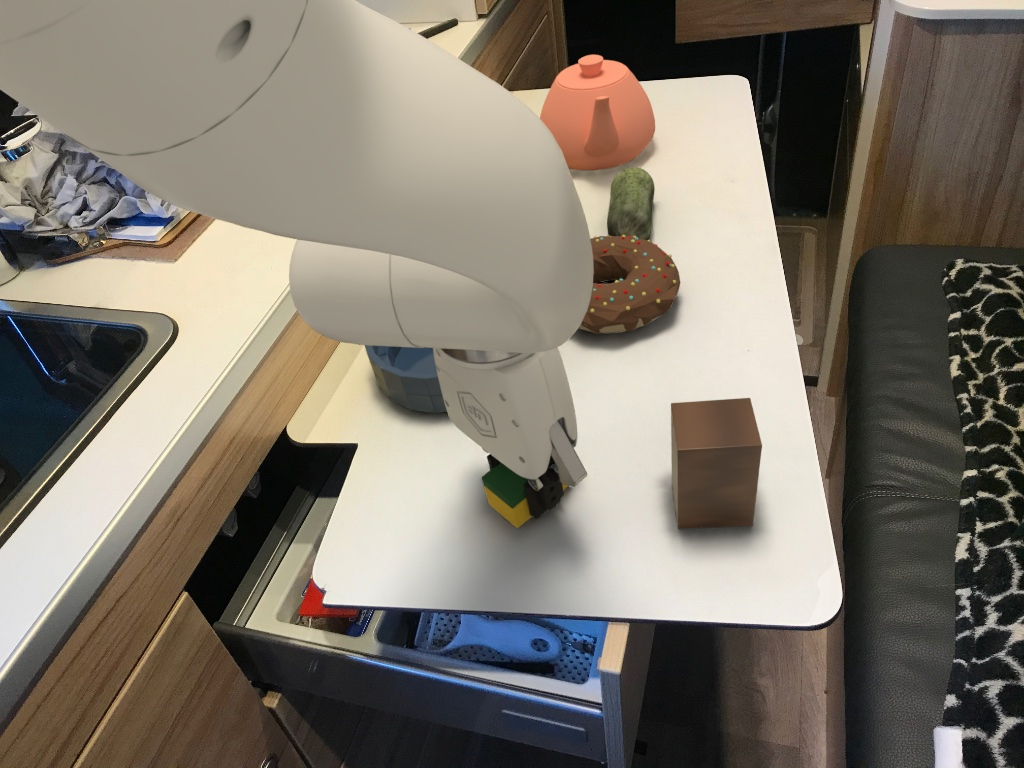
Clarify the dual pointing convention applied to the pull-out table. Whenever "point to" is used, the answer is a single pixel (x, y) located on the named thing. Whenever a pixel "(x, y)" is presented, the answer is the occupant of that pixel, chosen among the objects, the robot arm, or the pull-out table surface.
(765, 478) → the pull-out table surface
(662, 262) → the donut
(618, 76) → the teapot
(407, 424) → the pull-out table surface
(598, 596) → the pull-out table surface
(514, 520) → the sponge
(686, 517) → the wooden block
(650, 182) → the vegetable
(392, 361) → the bowl
